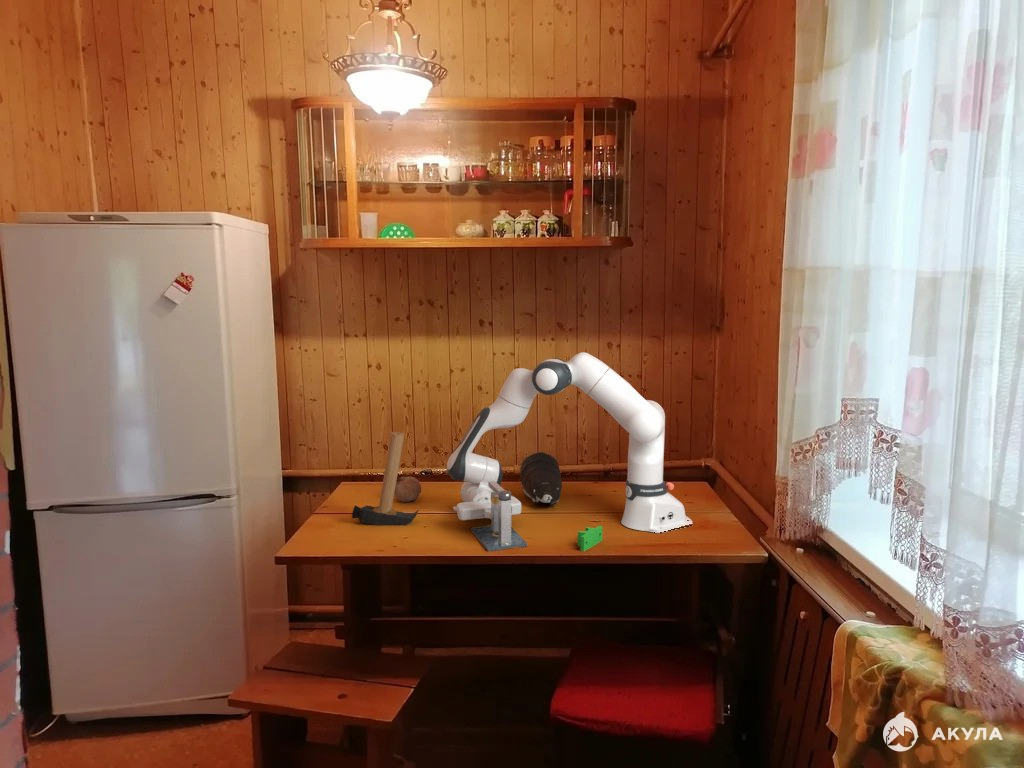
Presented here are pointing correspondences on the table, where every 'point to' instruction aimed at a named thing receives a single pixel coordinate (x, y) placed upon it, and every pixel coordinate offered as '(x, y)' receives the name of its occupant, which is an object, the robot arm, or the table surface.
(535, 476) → the dark brown oval body
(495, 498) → the post
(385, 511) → the hammer
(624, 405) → the robot arm
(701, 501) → the table surface
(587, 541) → the pipe clamp
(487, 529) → the bolt hole plate
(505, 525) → the grey metal upright piece
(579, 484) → the table surface
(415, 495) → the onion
